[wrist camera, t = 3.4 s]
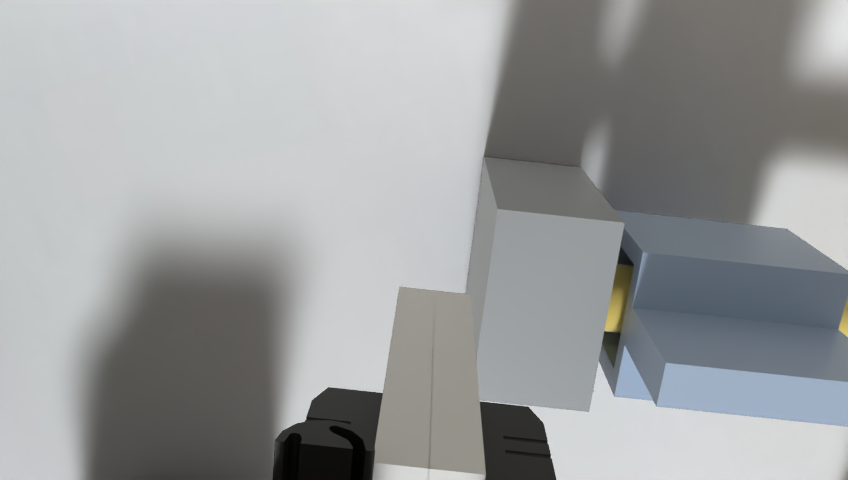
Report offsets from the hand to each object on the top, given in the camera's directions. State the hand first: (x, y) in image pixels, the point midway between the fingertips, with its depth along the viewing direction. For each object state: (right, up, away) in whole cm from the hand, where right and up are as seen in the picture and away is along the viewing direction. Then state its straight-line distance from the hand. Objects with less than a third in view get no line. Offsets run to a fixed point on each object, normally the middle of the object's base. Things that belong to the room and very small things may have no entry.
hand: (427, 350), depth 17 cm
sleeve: (+7, +1, +6) cm, 10 cm away
